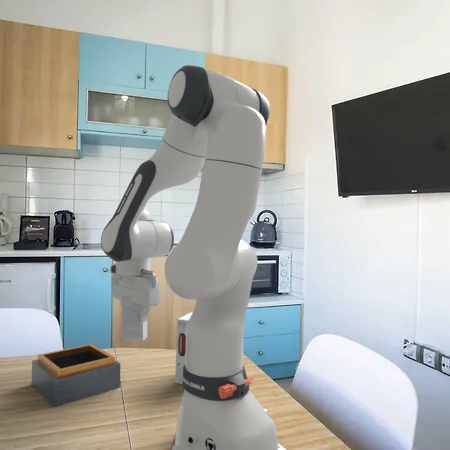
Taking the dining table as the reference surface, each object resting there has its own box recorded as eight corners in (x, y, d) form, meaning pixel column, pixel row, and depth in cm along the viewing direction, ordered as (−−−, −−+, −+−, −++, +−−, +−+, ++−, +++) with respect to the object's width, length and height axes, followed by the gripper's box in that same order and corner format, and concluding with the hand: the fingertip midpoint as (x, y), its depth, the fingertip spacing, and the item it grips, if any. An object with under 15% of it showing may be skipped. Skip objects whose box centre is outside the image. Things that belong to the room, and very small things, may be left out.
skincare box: (147, 337, 106) (147, 294, 106) (142, 341, 102) (143, 297, 102) (126, 336, 106) (126, 294, 107) (121, 341, 102) (121, 296, 102)
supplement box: (174, 383, 98) (175, 318, 98) (188, 370, 107) (190, 311, 107) (208, 389, 95) (210, 322, 95) (220, 375, 104) (222, 314, 104)
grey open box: (119, 387, 95) (120, 357, 95) (54, 407, 84) (54, 373, 84) (88, 365, 109) (88, 339, 109) (27, 380, 98) (28, 351, 98)
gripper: (165, 270, 99) (165, 323, 99) (126, 265, 114) (126, 311, 114) (144, 272, 95) (144, 327, 94) (107, 266, 109) (107, 314, 109)
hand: (134, 318), depth 104 cm, fingers closed on skincare box, 7 cm apart
